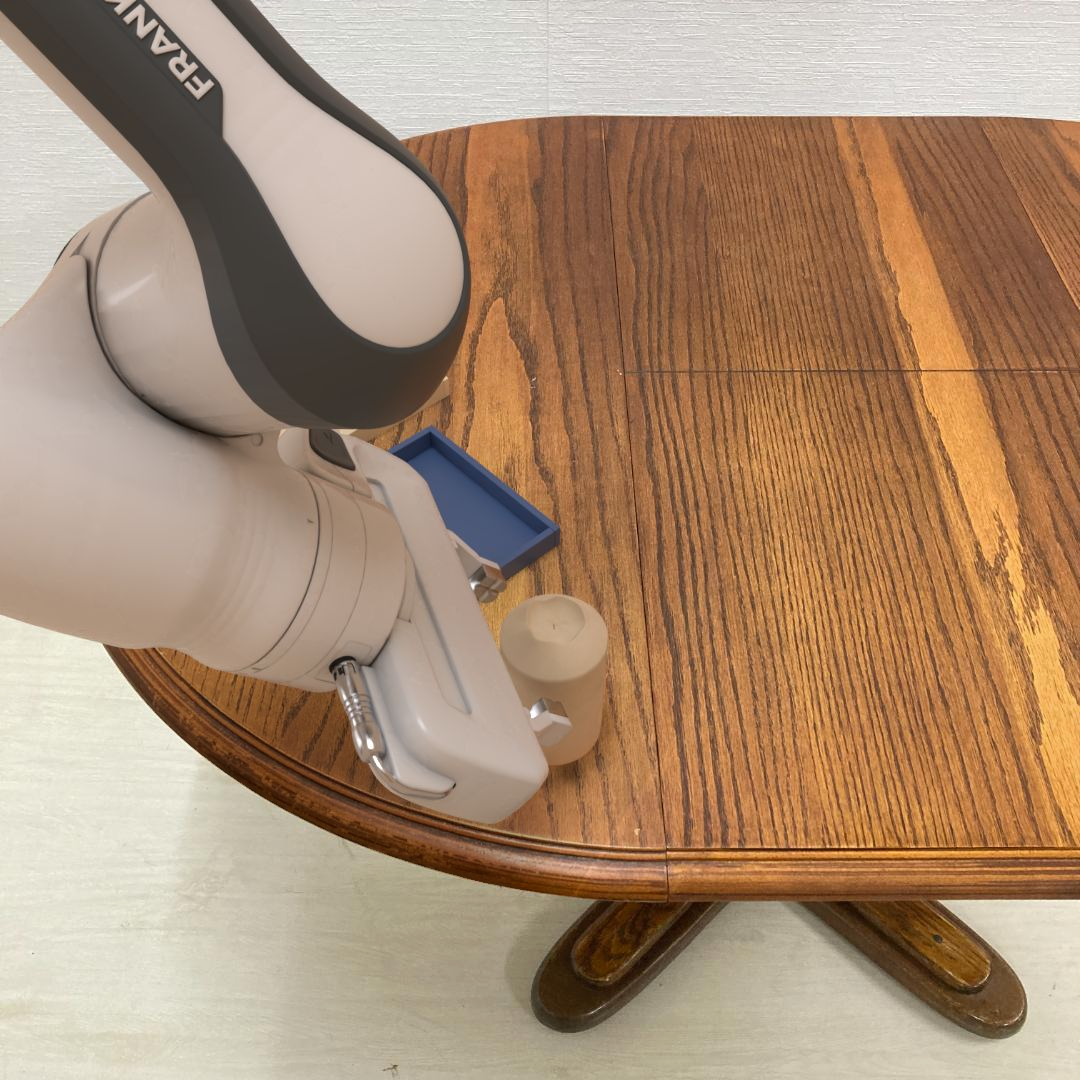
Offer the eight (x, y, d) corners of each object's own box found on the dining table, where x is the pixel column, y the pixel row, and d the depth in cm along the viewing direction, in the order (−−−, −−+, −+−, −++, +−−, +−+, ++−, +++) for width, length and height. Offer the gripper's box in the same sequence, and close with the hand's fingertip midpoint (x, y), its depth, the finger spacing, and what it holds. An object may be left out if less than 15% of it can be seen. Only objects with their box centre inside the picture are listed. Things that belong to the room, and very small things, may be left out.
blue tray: (372, 677, 65) (368, 657, 63) (250, 553, 71) (244, 532, 70) (560, 548, 71) (560, 527, 70) (433, 445, 78) (431, 424, 76)
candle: (555, 788, 60) (558, 683, 52) (483, 729, 62) (475, 620, 55) (621, 724, 63) (632, 615, 55) (548, 669, 65) (550, 558, 58)
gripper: (425, 738, 40) (652, 786, 49) (300, 387, 52) (500, 480, 62) (321, 835, 42) (557, 863, 52) (226, 476, 55) (430, 553, 64)
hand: (525, 652), depth 57 cm, fingers open, 8 cm apart
